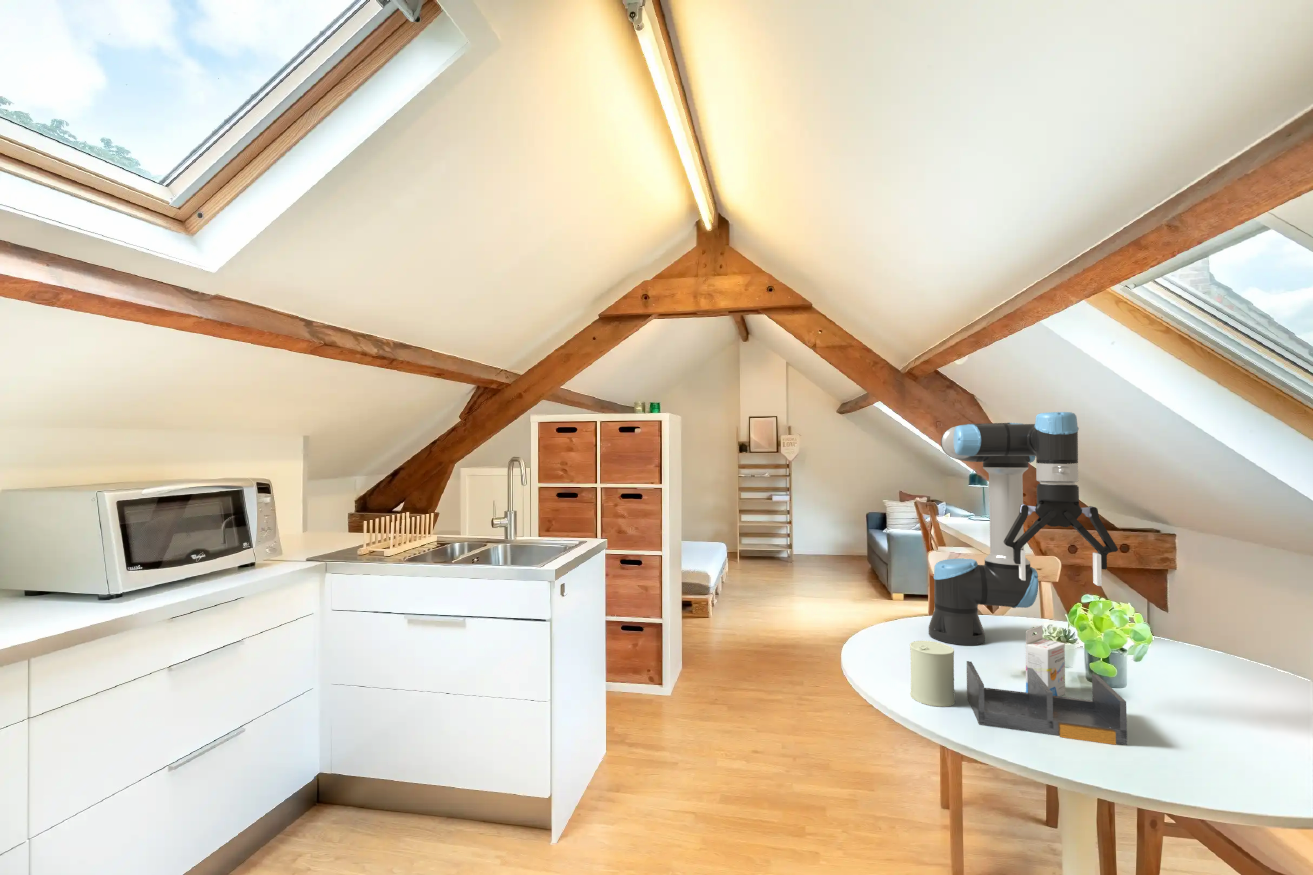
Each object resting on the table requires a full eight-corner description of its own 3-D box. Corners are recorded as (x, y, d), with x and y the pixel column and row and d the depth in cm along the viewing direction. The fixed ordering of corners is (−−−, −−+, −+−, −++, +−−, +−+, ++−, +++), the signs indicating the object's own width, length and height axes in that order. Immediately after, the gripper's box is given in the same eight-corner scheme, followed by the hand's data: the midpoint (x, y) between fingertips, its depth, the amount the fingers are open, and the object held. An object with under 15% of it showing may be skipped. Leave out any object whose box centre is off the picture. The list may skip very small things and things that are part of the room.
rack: (967, 697, 131) (966, 660, 131) (1098, 713, 123) (1097, 674, 123) (979, 725, 117) (979, 685, 118) (1128, 746, 109) (1127, 702, 109)
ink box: (1049, 702, 128) (1048, 636, 129) (1025, 694, 133) (1024, 630, 133) (1066, 693, 133) (1065, 629, 134) (1042, 686, 137) (1041, 624, 138)
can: (901, 693, 133) (900, 641, 134) (930, 687, 137) (929, 636, 137) (934, 709, 125) (933, 654, 125) (964, 702, 128) (963, 648, 129)
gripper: (993, 483, 126) (995, 580, 126) (1135, 485, 117) (1137, 590, 116) (988, 481, 133) (990, 573, 133) (1121, 483, 124) (1124, 583, 123)
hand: (1059, 581), depth 124 cm, fingers open, 13 cm apart
